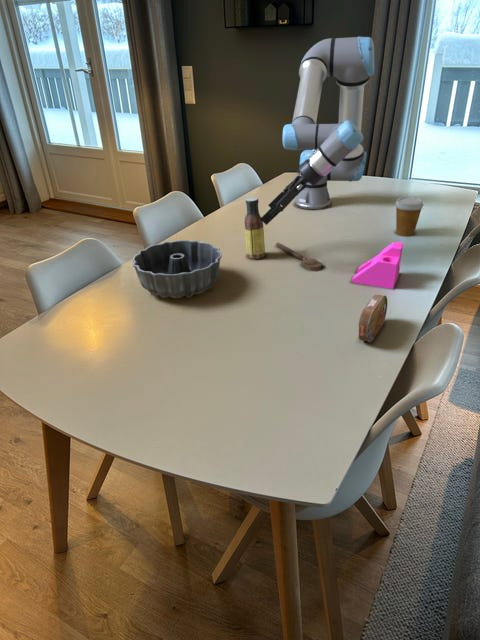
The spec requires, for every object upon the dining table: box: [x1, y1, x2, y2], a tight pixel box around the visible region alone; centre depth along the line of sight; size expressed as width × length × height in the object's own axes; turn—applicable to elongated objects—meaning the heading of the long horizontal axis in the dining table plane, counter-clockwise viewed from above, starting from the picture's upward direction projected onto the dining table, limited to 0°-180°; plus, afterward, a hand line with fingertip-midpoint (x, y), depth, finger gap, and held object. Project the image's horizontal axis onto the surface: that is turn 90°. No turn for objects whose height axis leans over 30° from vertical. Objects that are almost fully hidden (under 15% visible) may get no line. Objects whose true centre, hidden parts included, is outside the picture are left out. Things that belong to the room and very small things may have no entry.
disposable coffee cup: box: [395, 196, 425, 237], centre depth 168 cm, size 10×10×12 cm
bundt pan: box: [132, 239, 223, 299], centre depth 141 cm, size 26×26×10 cm
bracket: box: [351, 241, 404, 290], centre depth 139 cm, size 12×10×10 cm
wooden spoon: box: [275, 242, 323, 271], centre depth 157 cm, size 24×5×2 cm, turn 29°
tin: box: [358, 294, 388, 343], centre depth 114 cm, size 15×3×8 cm, turn 148°
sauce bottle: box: [244, 196, 266, 260], centre depth 154 cm, size 6×6×20 cm
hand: (267, 214), depth 151 cm, fingers open, 13 cm apart
